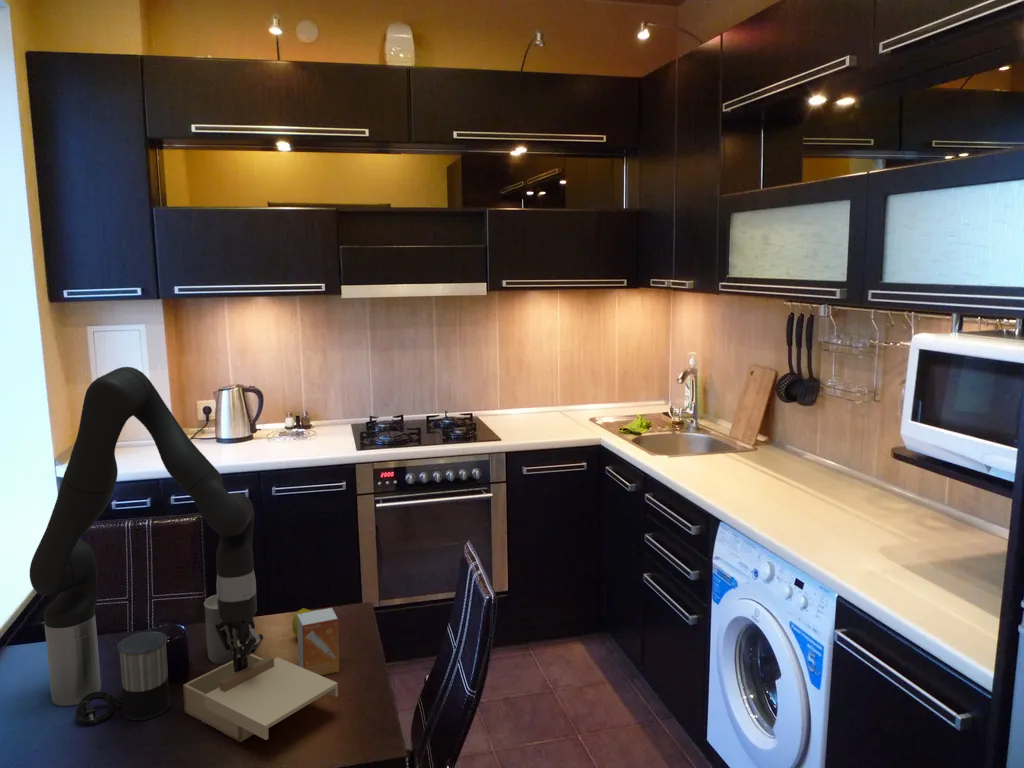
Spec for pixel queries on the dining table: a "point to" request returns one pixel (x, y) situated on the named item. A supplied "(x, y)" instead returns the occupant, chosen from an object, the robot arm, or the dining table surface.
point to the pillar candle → (214, 633)
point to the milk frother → (136, 681)
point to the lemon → (294, 623)
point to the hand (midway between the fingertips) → (241, 671)
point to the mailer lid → (266, 694)
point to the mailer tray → (206, 684)
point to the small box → (318, 641)
